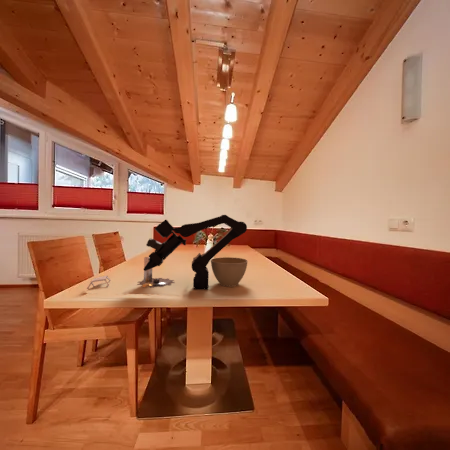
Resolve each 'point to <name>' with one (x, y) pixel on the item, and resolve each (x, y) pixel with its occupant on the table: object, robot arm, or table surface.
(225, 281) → the flower pot
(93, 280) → the origami figure
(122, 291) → the table surface
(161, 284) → the sprocket plate
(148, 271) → the drive pin
